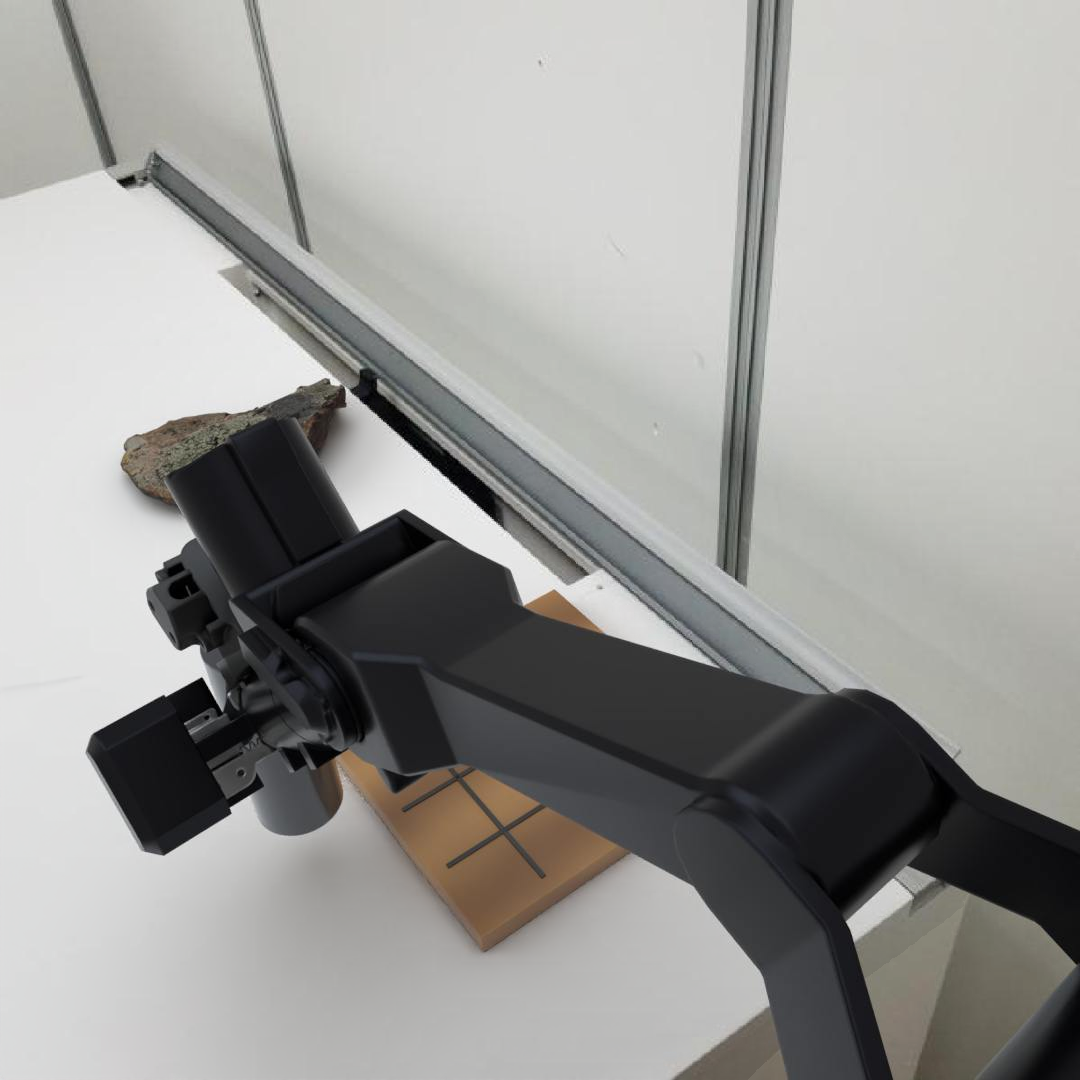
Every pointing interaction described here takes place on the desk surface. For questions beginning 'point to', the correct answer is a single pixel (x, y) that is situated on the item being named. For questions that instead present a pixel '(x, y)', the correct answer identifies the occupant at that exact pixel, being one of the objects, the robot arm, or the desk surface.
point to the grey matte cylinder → (283, 777)
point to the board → (488, 834)
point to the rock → (222, 434)
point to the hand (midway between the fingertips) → (264, 708)
